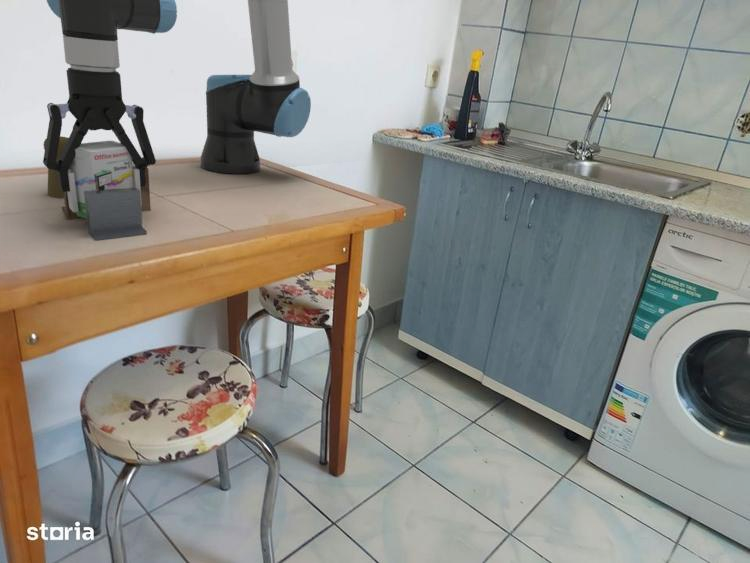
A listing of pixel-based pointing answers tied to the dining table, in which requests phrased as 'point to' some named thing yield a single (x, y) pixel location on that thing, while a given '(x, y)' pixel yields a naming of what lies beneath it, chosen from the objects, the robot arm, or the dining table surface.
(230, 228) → the dining table surface
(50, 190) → the cork
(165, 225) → the dining table surface
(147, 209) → the brown boxy piece
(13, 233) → the dining table surface
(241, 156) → the robot arm
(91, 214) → the bookend
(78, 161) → the ink box
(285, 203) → the dining table surface
